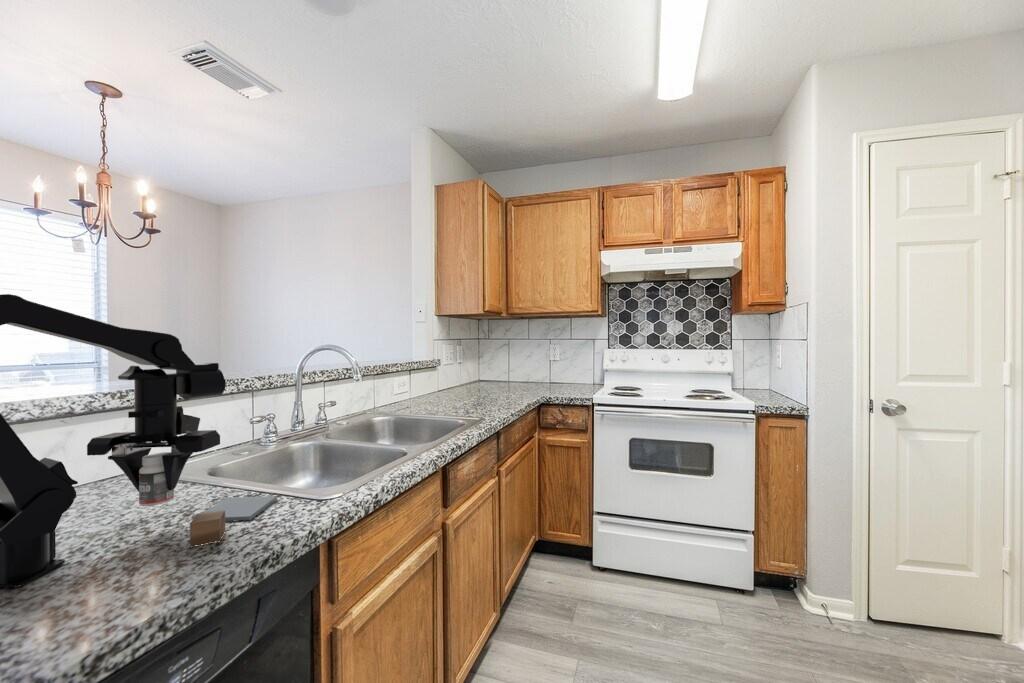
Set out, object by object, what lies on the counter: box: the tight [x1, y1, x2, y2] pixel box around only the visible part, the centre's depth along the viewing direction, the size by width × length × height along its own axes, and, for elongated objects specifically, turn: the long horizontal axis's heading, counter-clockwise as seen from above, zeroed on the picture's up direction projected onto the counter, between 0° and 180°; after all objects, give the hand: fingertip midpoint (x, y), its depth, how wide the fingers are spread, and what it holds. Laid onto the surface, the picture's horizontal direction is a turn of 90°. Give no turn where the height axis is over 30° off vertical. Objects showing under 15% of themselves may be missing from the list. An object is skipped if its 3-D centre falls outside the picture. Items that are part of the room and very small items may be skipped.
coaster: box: [202, 495, 278, 522], centre depth 81 cm, size 10×10×1 cm
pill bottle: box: [138, 451, 175, 507], centre depth 73 cm, size 5×5×8 cm
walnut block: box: [189, 510, 226, 546], centre depth 69 cm, size 4×4×4 cm
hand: (156, 490), depth 73 cm, fingers closed on pill bottle, 5 cm apart
